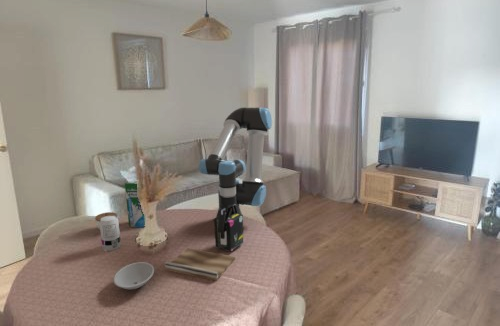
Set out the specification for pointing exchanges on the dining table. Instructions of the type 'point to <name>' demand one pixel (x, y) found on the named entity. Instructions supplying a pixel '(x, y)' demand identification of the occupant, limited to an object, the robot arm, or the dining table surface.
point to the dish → (133, 275)
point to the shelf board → (200, 264)
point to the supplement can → (110, 233)
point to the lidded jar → (102, 217)
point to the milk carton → (134, 206)
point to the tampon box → (230, 232)
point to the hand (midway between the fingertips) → (229, 238)
